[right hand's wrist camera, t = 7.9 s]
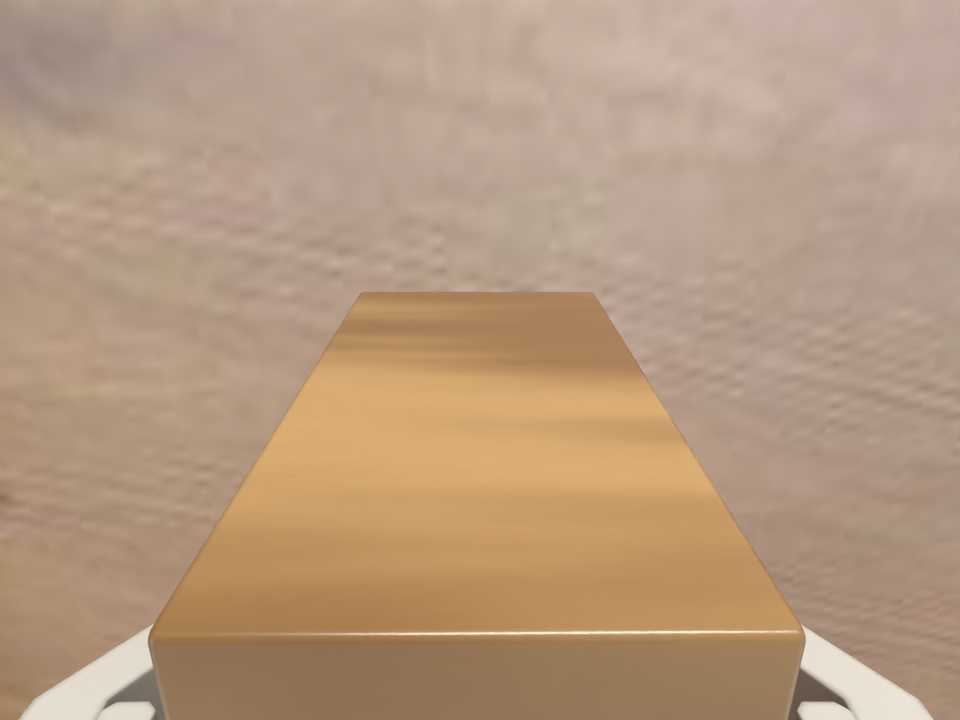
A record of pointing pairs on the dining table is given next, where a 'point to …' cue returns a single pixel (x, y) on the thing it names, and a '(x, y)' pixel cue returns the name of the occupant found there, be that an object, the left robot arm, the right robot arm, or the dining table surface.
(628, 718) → the bar
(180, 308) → the dining table surface
